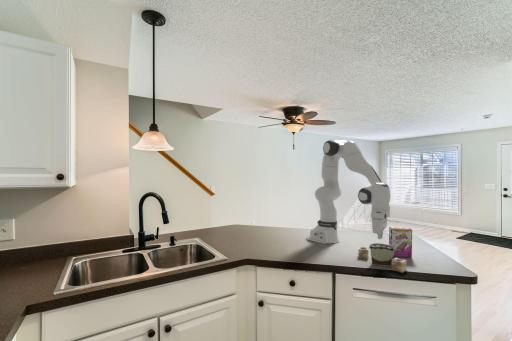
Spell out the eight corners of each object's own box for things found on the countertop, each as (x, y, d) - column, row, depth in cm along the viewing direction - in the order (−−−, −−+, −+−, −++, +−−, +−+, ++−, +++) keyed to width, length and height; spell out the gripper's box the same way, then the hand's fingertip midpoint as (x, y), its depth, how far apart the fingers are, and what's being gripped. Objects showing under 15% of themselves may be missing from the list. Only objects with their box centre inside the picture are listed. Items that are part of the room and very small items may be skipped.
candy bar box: (391, 256, 144) (391, 228, 144) (388, 253, 149) (388, 226, 149) (412, 258, 142) (412, 229, 142) (409, 255, 146) (409, 227, 146)
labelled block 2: (391, 269, 126) (391, 259, 126) (395, 267, 129) (395, 257, 129) (402, 272, 122) (402, 262, 122) (406, 270, 125) (406, 259, 125)
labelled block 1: (358, 257, 143) (358, 248, 143) (359, 255, 147) (359, 246, 147) (368, 259, 141) (368, 249, 141) (368, 256, 145) (368, 247, 145)
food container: (392, 262, 135) (392, 244, 135) (394, 266, 129) (394, 247, 129) (367, 260, 139) (367, 242, 139) (368, 264, 133) (368, 245, 133)
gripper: (378, 209, 144) (377, 233, 145) (369, 215, 128) (369, 241, 128) (390, 210, 140) (389, 235, 141) (383, 216, 124) (383, 244, 124)
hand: (380, 238), depth 134 cm, fingers closed
